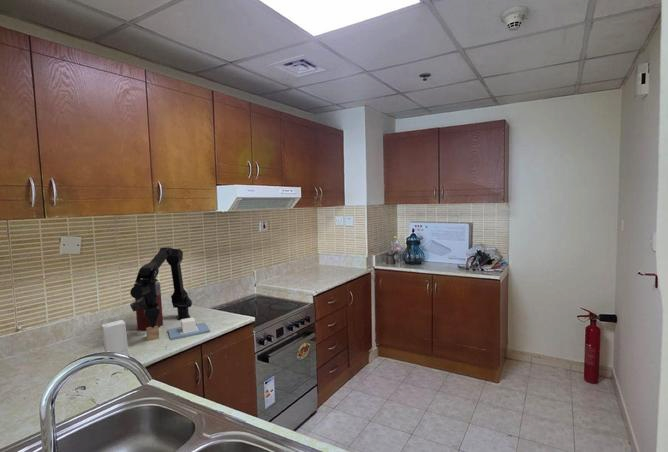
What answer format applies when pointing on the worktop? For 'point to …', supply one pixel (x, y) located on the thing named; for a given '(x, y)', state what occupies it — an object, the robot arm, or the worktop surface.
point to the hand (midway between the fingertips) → (152, 324)
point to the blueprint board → (177, 332)
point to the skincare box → (115, 337)
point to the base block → (188, 325)
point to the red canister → (144, 321)
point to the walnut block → (152, 333)
